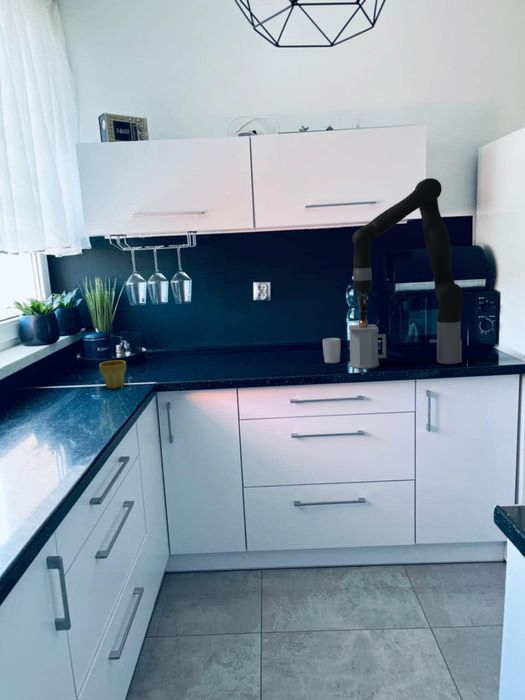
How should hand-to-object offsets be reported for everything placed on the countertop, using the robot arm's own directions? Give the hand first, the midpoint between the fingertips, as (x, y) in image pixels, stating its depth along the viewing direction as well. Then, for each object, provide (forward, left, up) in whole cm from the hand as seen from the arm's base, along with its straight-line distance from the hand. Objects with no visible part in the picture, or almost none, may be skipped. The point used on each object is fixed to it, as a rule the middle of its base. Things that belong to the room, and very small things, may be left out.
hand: (363, 320), depth 228 cm
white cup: (+13, -10, -20) cm, 25 cm away
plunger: (0, 0, -16) cm, 16 cm away
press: (-1, 0, -19) cm, 19 cm away
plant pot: (+102, +19, -20) cm, 106 cm away
